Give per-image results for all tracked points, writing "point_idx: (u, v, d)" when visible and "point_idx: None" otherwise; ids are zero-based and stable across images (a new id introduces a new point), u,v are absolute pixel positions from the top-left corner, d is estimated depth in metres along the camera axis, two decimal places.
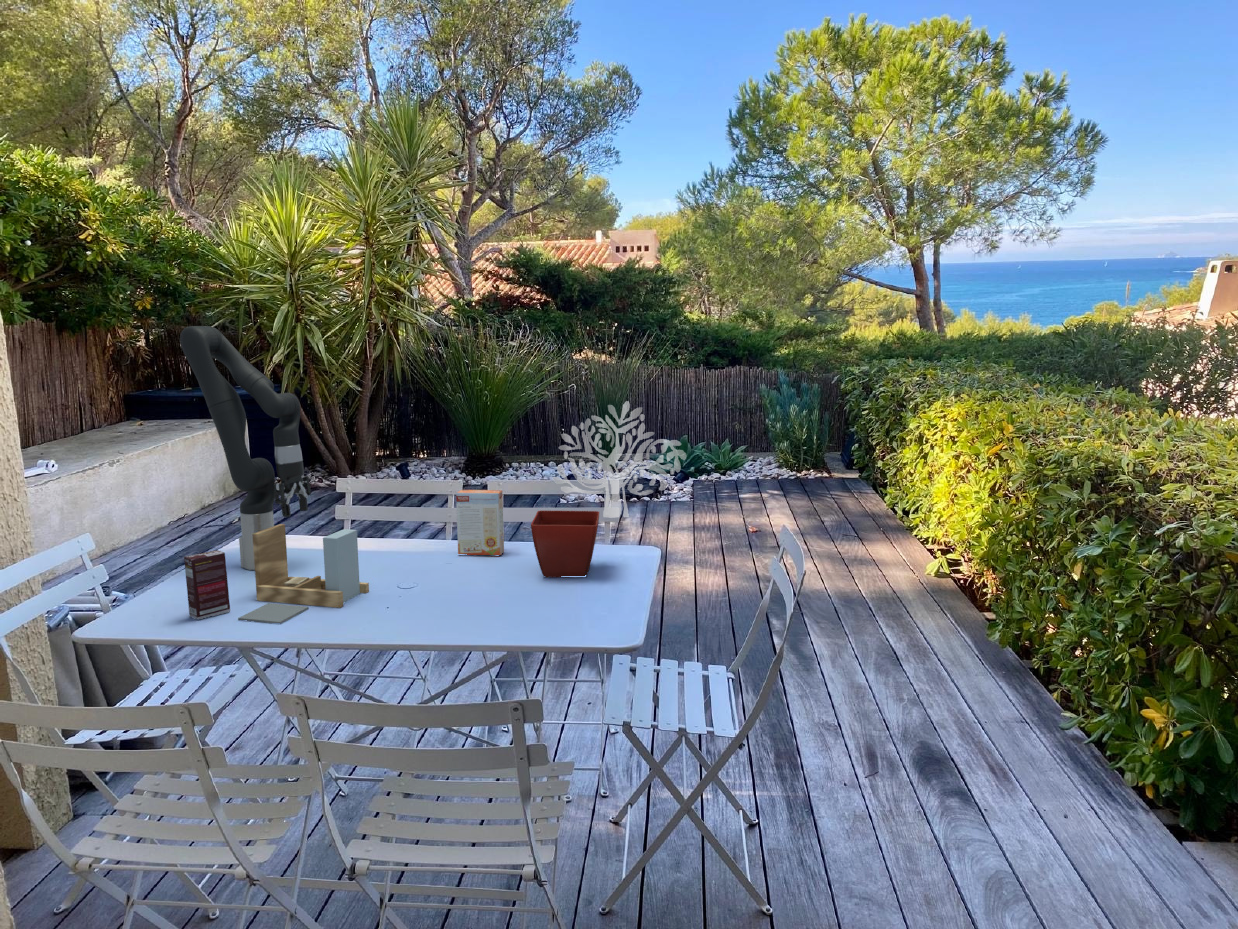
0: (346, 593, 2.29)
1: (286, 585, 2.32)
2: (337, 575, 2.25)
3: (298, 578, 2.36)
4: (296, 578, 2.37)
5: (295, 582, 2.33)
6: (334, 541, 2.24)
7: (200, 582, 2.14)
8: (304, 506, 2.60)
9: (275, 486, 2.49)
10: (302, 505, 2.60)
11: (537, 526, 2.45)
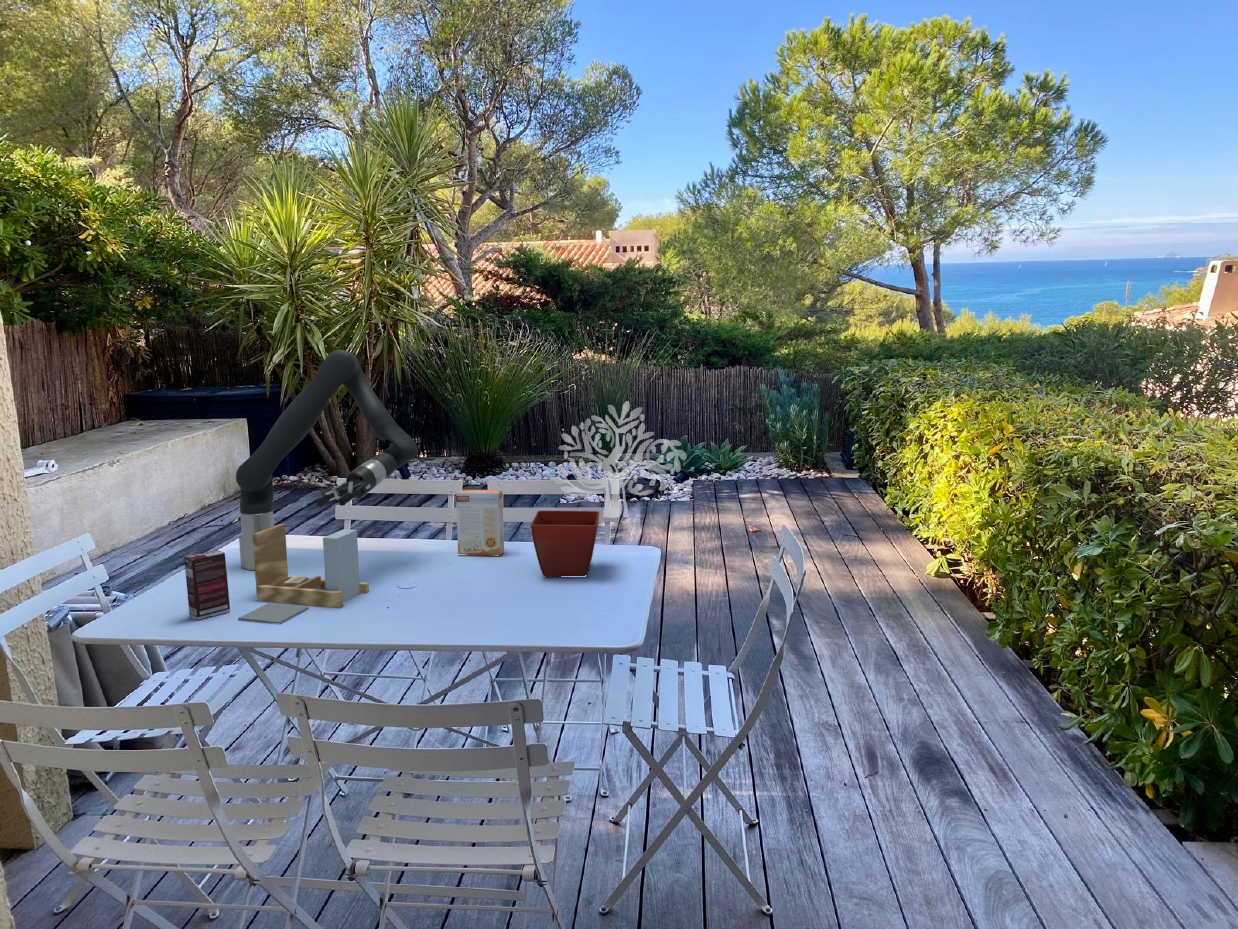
0: (346, 593, 2.29)
1: (286, 585, 2.32)
2: (337, 575, 2.25)
3: (297, 578, 2.36)
4: (295, 577, 2.37)
5: (295, 581, 2.33)
6: (334, 541, 2.24)
7: (200, 582, 2.14)
8: (323, 503, 2.40)
9: (368, 483, 2.40)
10: (323, 501, 2.40)
11: (537, 526, 2.45)
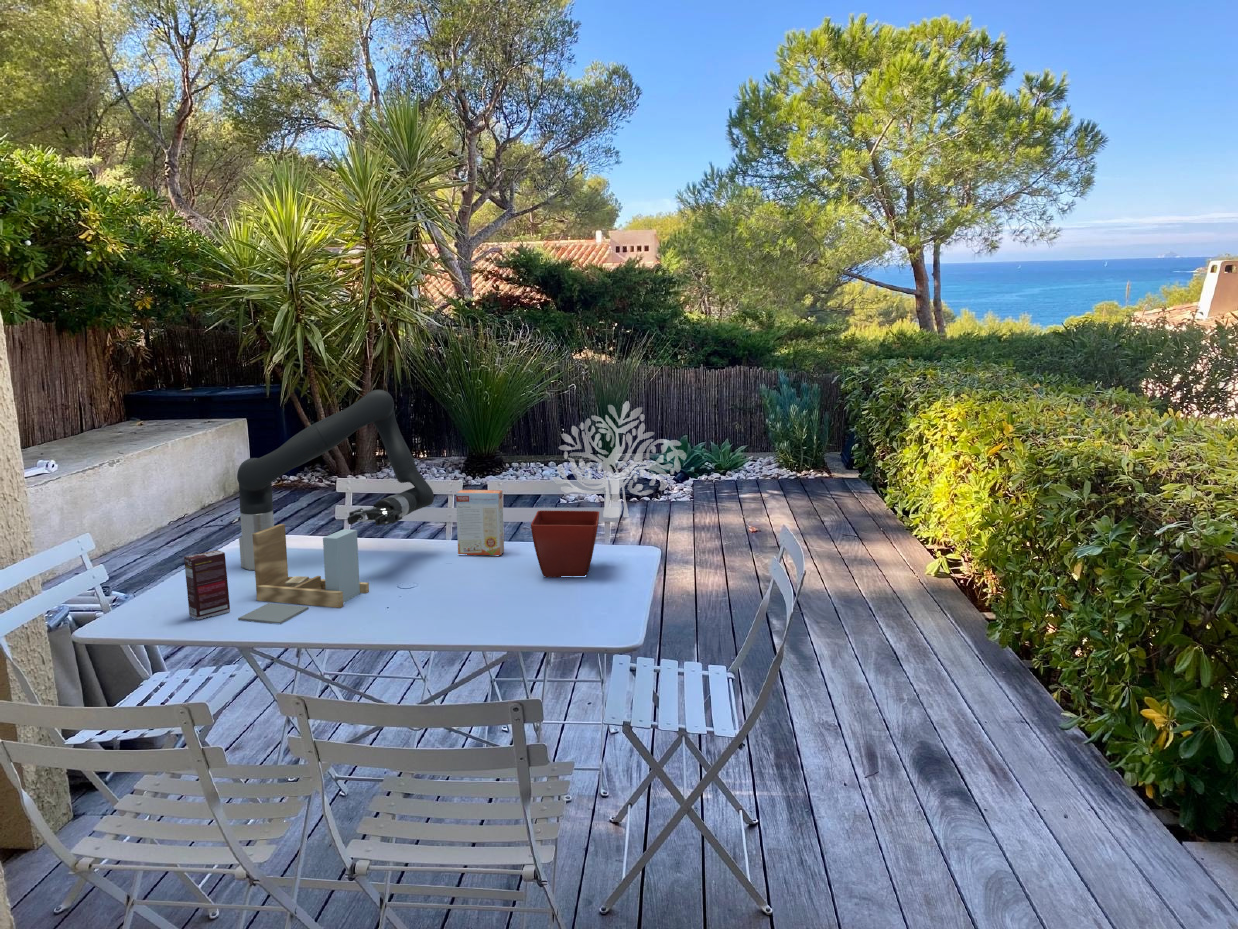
0: (346, 593, 2.29)
1: (287, 584, 2.32)
2: (337, 575, 2.25)
3: (298, 577, 2.36)
4: (296, 577, 2.37)
5: (296, 581, 2.33)
6: (334, 541, 2.24)
7: (200, 582, 2.14)
8: (353, 521, 2.42)
9: (401, 512, 2.47)
10: (353, 519, 2.42)
11: (537, 526, 2.45)
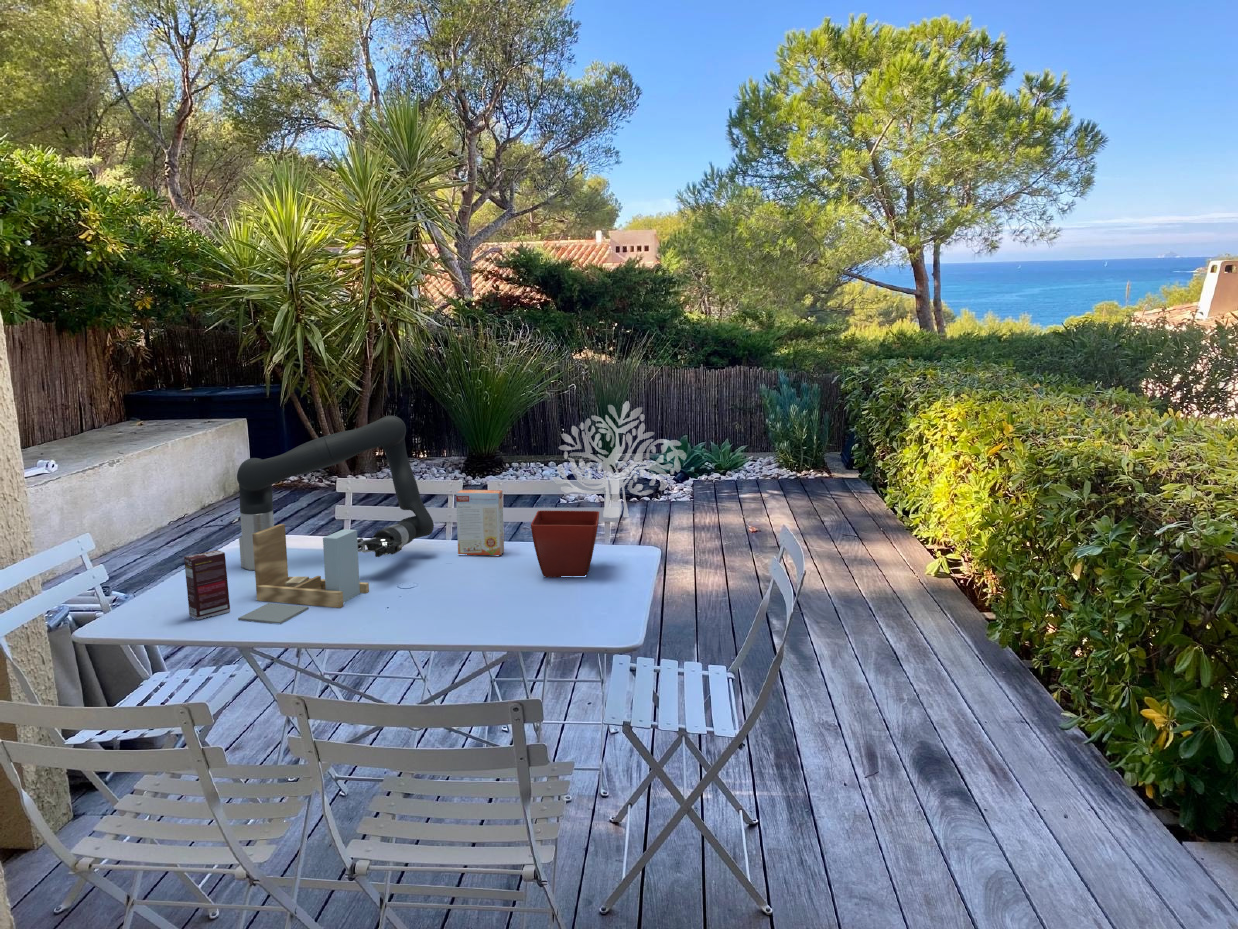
0: (346, 593, 2.29)
1: (287, 585, 2.32)
2: (337, 575, 2.25)
3: (298, 577, 2.36)
4: (296, 577, 2.37)
5: (296, 581, 2.33)
6: (334, 541, 2.24)
7: (200, 582, 2.14)
8: None
9: (401, 543, 2.48)
10: None
11: (537, 526, 2.45)
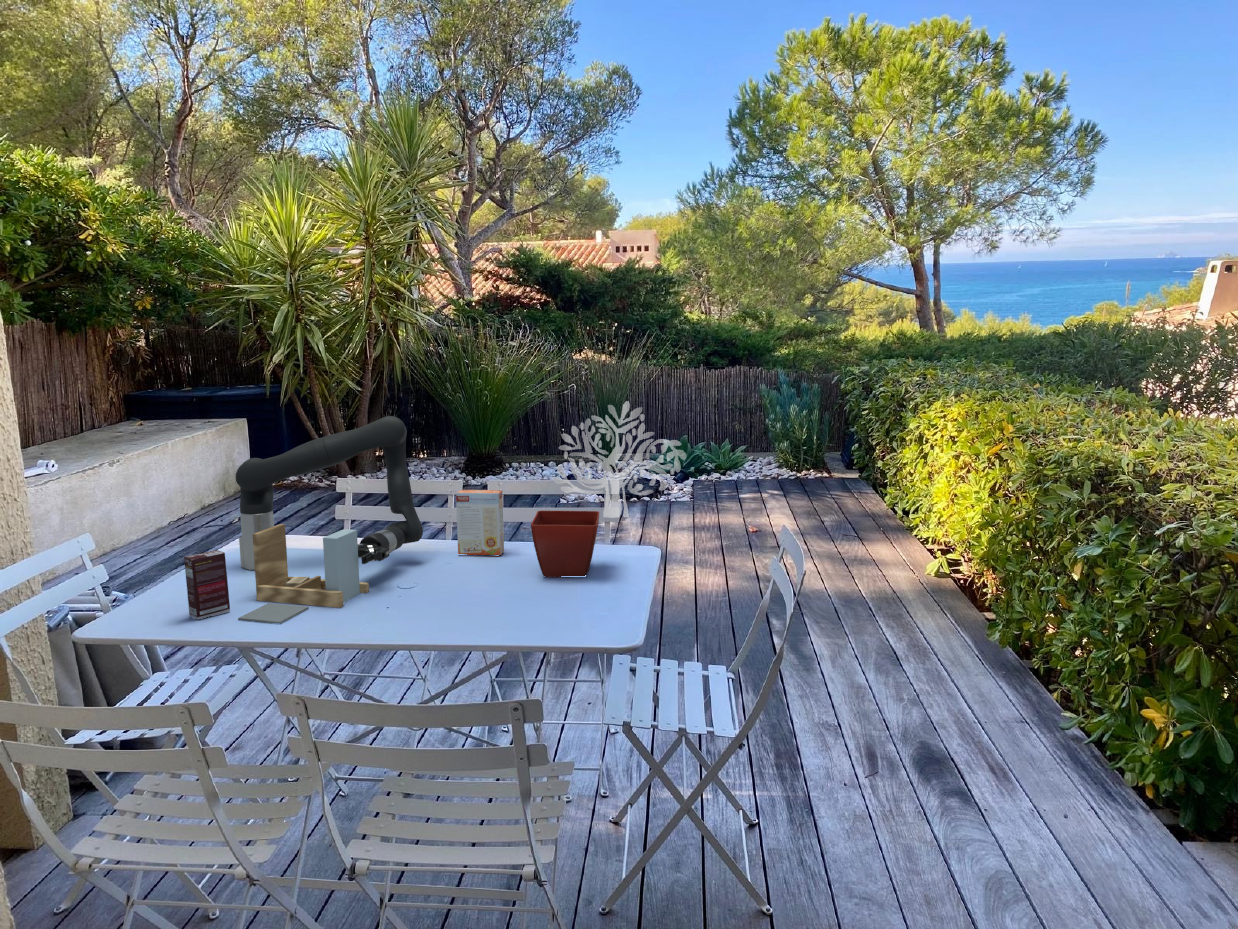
0: (346, 593, 2.29)
1: (287, 585, 2.32)
2: (337, 575, 2.25)
3: (298, 578, 2.36)
4: (296, 577, 2.37)
5: (296, 582, 2.33)
6: (334, 541, 2.24)
7: (200, 582, 2.14)
8: None
9: (388, 549, 2.41)
10: None
11: (537, 526, 2.45)
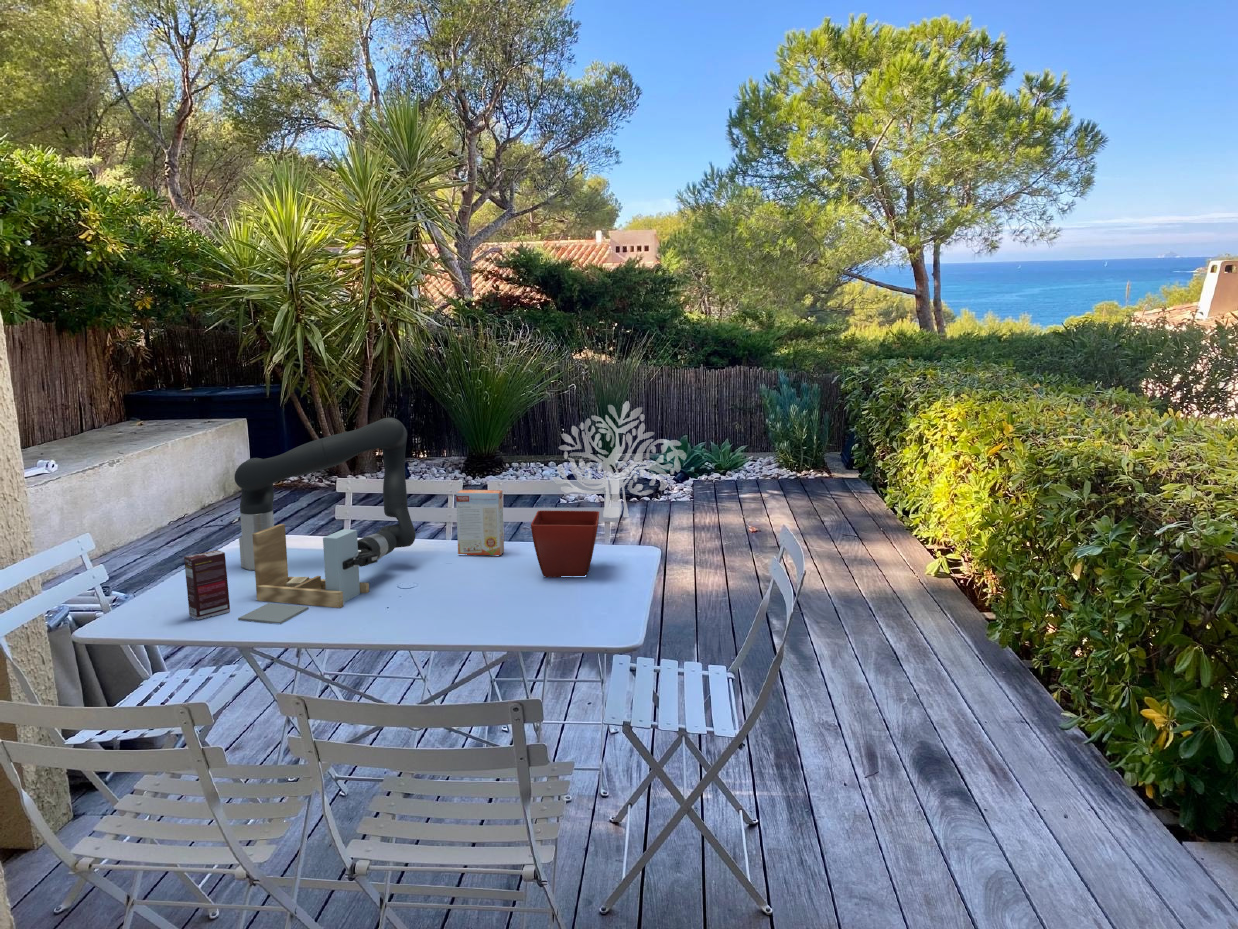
0: (346, 593, 2.29)
1: (288, 585, 2.32)
2: (337, 575, 2.25)
3: (298, 578, 2.36)
4: (296, 578, 2.37)
5: (297, 582, 2.33)
6: (334, 541, 2.24)
7: (200, 582, 2.14)
8: None
9: (375, 555, 2.34)
10: None
11: (537, 526, 2.45)
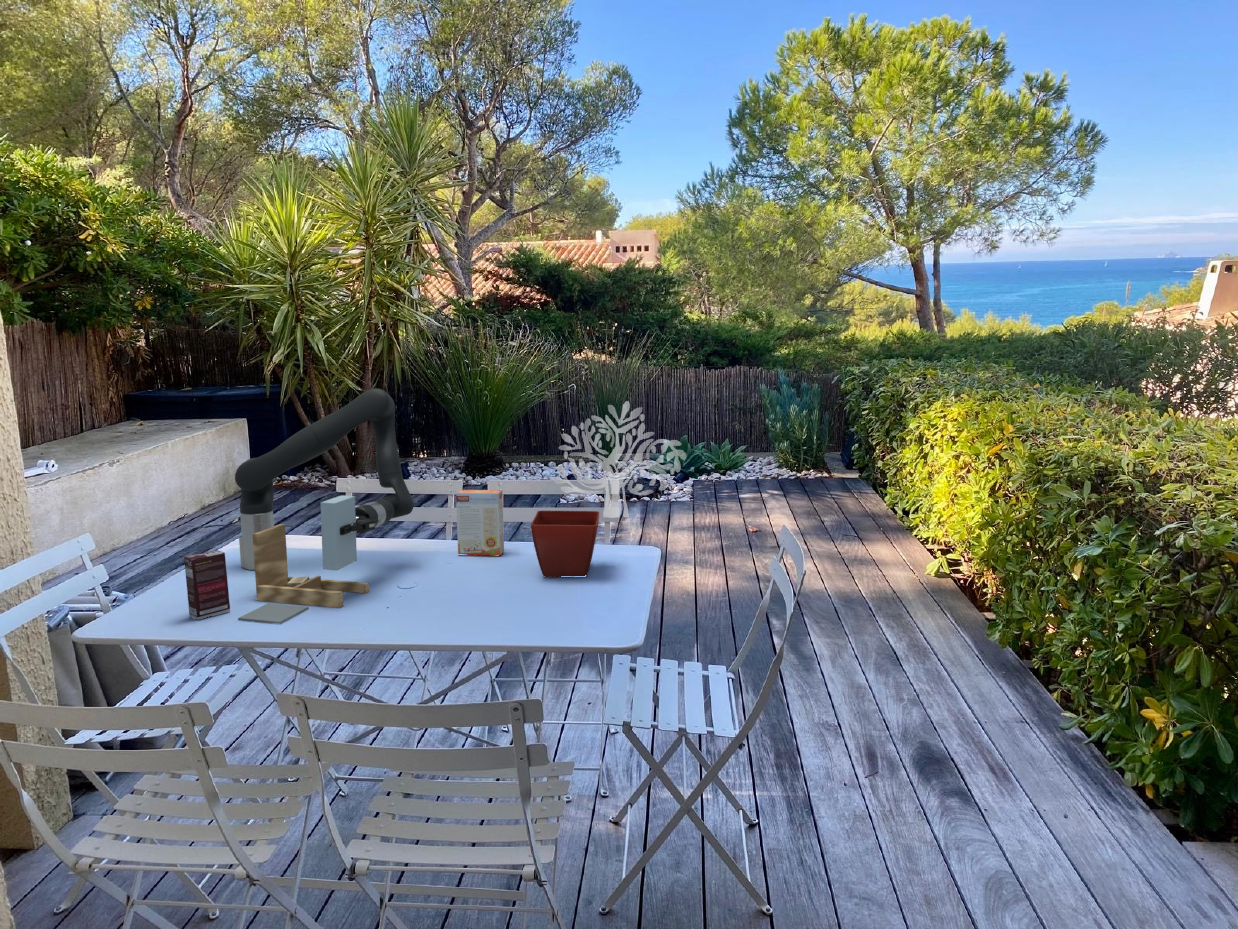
0: (343, 559, 2.27)
1: (289, 585, 2.32)
2: (334, 540, 2.24)
3: (298, 578, 2.36)
4: (296, 577, 2.37)
5: (298, 581, 2.33)
6: (332, 506, 2.22)
7: (200, 582, 2.14)
8: None
9: (373, 522, 2.33)
10: None
11: (537, 526, 2.45)
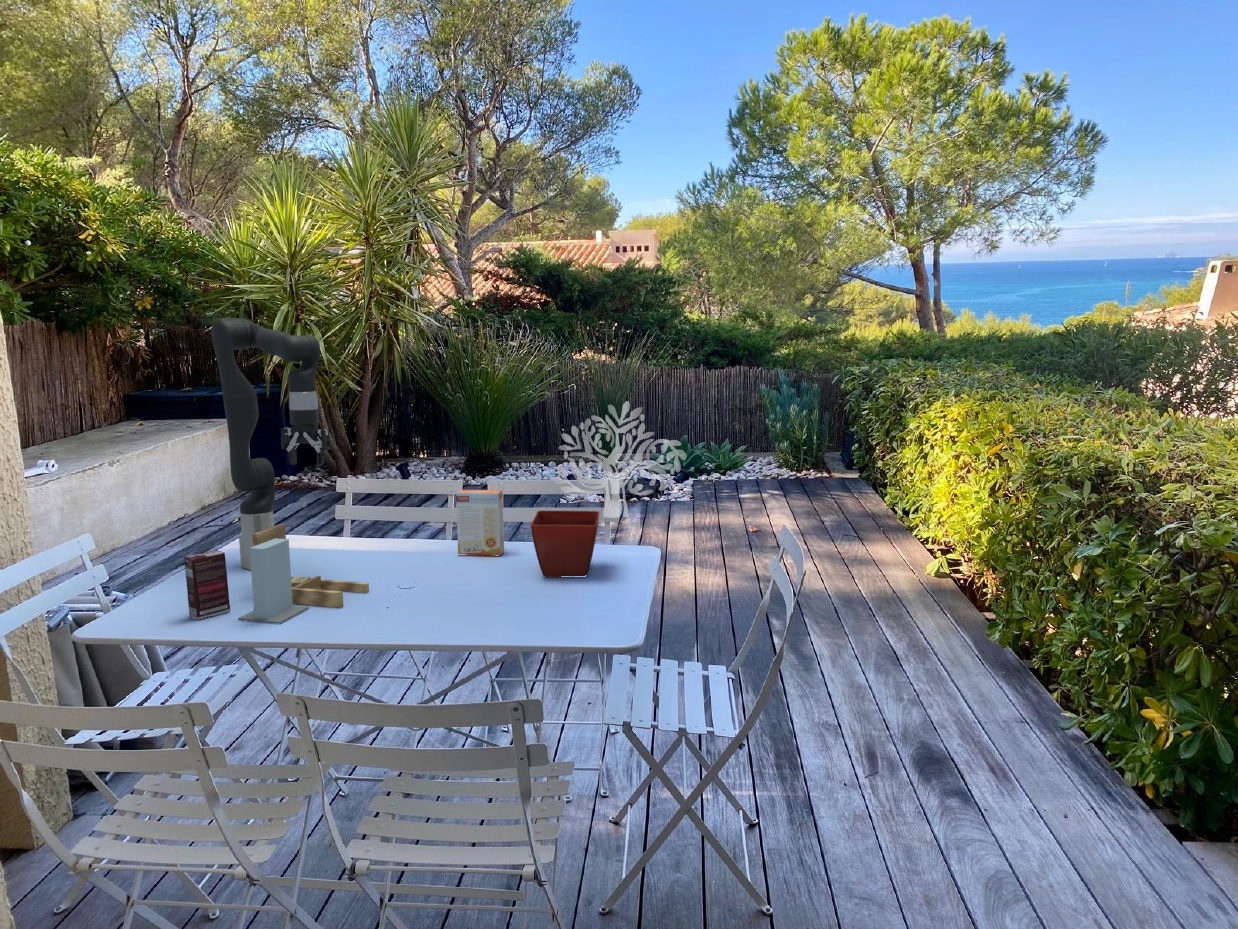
0: (276, 606, 2.16)
1: None
2: (265, 588, 2.12)
3: (299, 577, 2.36)
4: (297, 577, 2.37)
5: (298, 581, 2.33)
6: (261, 552, 2.11)
7: (200, 582, 2.14)
8: None
9: None
10: None
11: (537, 526, 2.45)
